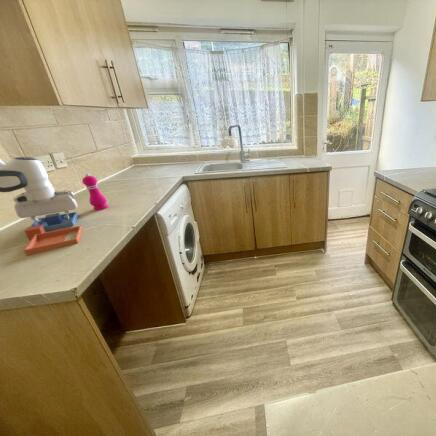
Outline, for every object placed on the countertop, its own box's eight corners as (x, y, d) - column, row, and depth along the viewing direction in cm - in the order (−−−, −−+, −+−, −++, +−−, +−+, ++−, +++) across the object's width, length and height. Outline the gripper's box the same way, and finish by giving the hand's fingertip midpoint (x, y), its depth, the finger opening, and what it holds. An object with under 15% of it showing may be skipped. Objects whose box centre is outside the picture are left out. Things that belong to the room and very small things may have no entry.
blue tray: (29, 235, 106) (27, 230, 105) (38, 223, 118) (36, 218, 116) (74, 226, 113) (72, 221, 112) (78, 216, 125) (76, 211, 124)
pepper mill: (112, 207, 135) (98, 171, 127) (98, 212, 129) (82, 175, 121) (104, 205, 138) (90, 171, 130) (90, 210, 132) (74, 174, 124)
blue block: (48, 226, 112) (44, 218, 111) (50, 223, 116) (46, 214, 114) (61, 224, 115) (57, 215, 113) (63, 221, 118) (59, 212, 116)
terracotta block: (29, 240, 101) (24, 231, 100) (32, 236, 105) (27, 227, 103) (44, 237, 104) (39, 228, 102) (46, 233, 107) (42, 224, 105)
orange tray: (26, 256, 90) (23, 250, 89) (37, 240, 102) (34, 234, 101) (78, 244, 97) (76, 238, 96) (83, 230, 109) (81, 225, 108)
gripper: (72, 188, 117) (83, 214, 122) (12, 196, 107) (27, 224, 112) (70, 191, 112) (81, 218, 117) (7, 200, 102) (23, 229, 107)
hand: (54, 221), depth 115 cm, fingers open, 8 cm apart
